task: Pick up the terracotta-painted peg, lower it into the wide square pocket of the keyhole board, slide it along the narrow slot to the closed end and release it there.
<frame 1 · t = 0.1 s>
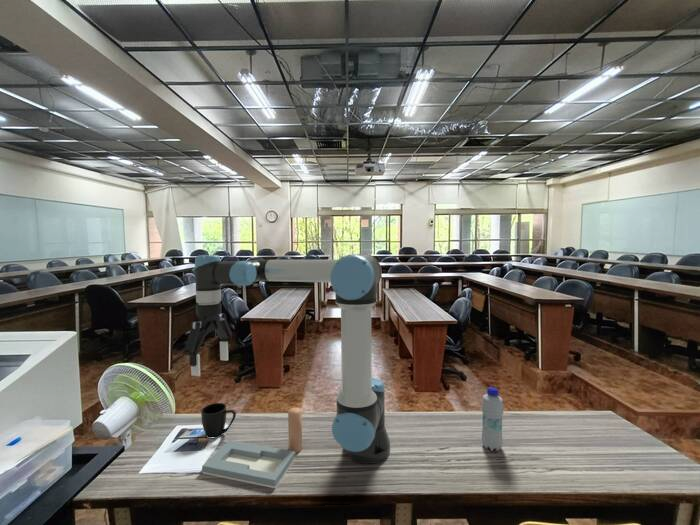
hand: (210, 367, 105), 28 cm above the table, fingers open, 13 cm apart
bottle: (491, 447, 107), on the table
mug: (219, 435, 115), on the table
peg: (295, 448, 107), on the table
keyhole board: (250, 465, 99), on the table
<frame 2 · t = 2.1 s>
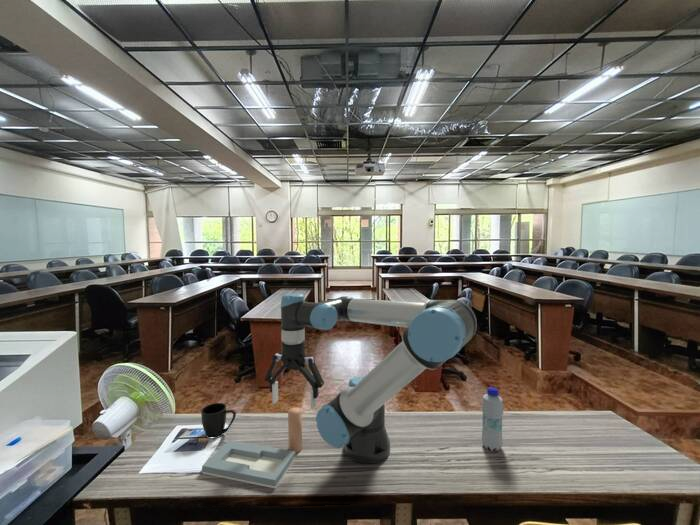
hand: (294, 404, 106), 15 cm above the table, fingers open, 13 cm apart
nothing on the table moved.
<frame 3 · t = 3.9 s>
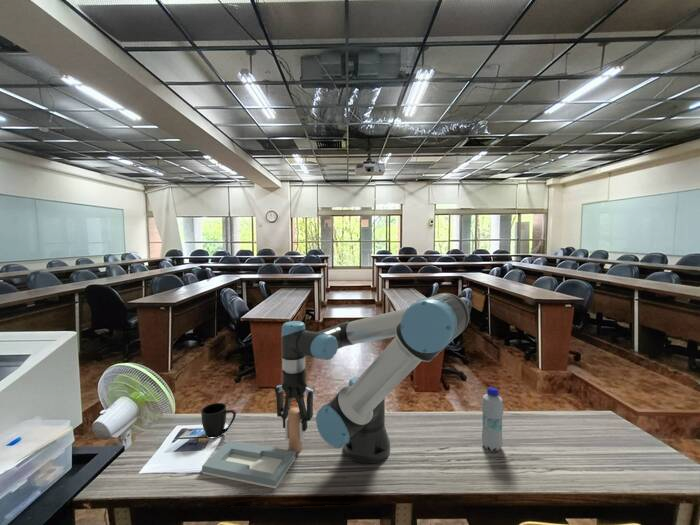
hand: (295, 438, 106), 4 cm above the table, fingers closed on peg, 4 cm apart
peg: (295, 448, 107), on the table, touching gripper
everything else where it was.
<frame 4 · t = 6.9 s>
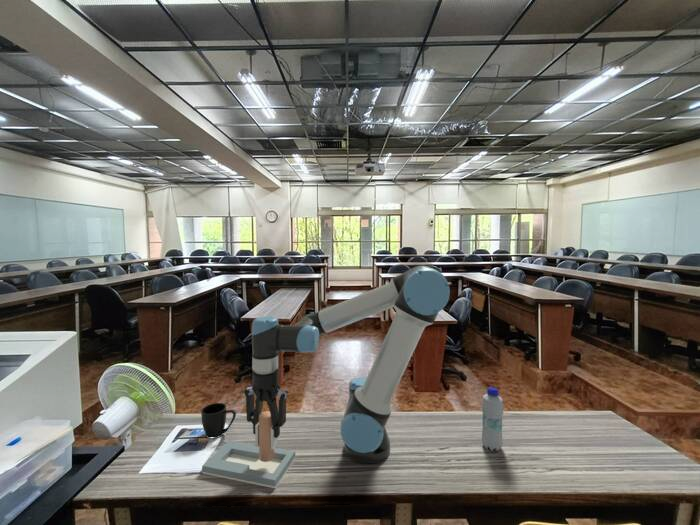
hand: (266, 445, 97), 7 cm above the table, fingers closed on peg, 4 cm apart
peg: (266, 457, 97), point 4 cm above the table, touching gripper
everything else where it was.
when the fingers open (5 cm above the table, at t = 10.3 s): peg stays where it is, resting on keyhole board.
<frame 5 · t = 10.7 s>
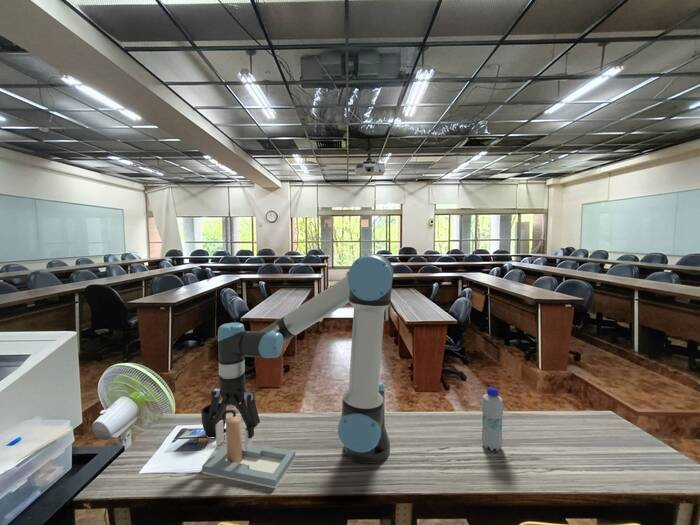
hand: (234, 444, 100), 6 cm above the table, fingers open, 9 cm apart
peg: (234, 460, 100), point 1 cm above the table, touching keyhole board
everything else where it was.
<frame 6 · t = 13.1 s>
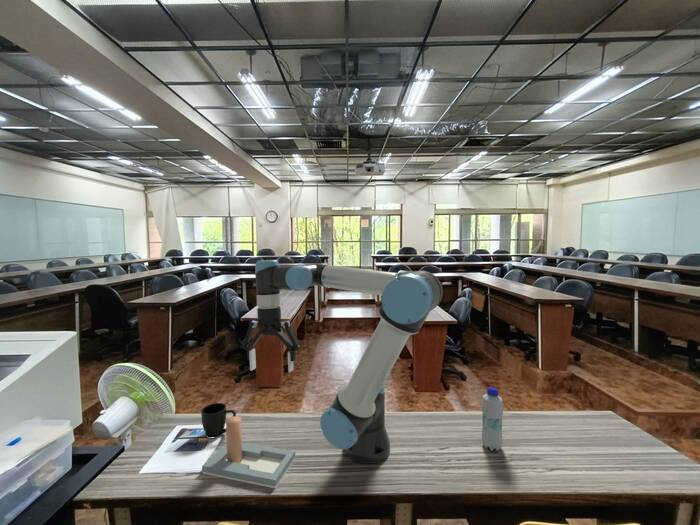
hand: (271, 370, 107), 26 cm above the table, fingers open, 13 cm apart
nothing on the table moved.
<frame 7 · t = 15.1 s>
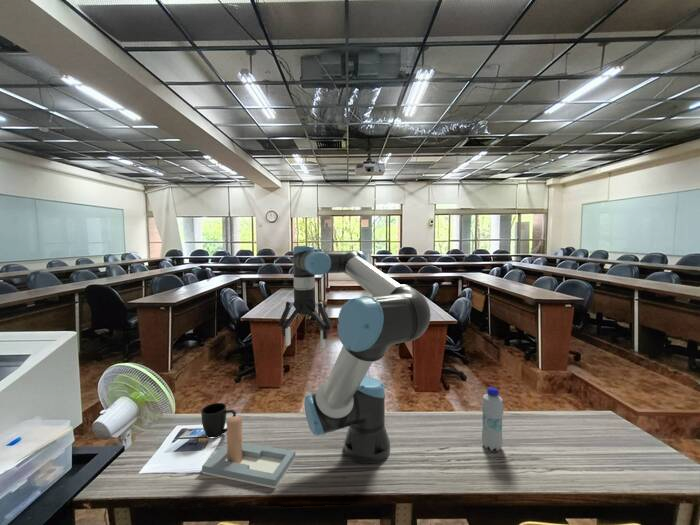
hand: (305, 346, 117), 31 cm above the table, fingers open, 13 cm apart
nothing on the table moved.
at the end: peg 0.1 cm from the target spot on the keyhole board, point 0.6 cm above the keyhole board's base; peg tilted 1°; the gripper is holding nothing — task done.
